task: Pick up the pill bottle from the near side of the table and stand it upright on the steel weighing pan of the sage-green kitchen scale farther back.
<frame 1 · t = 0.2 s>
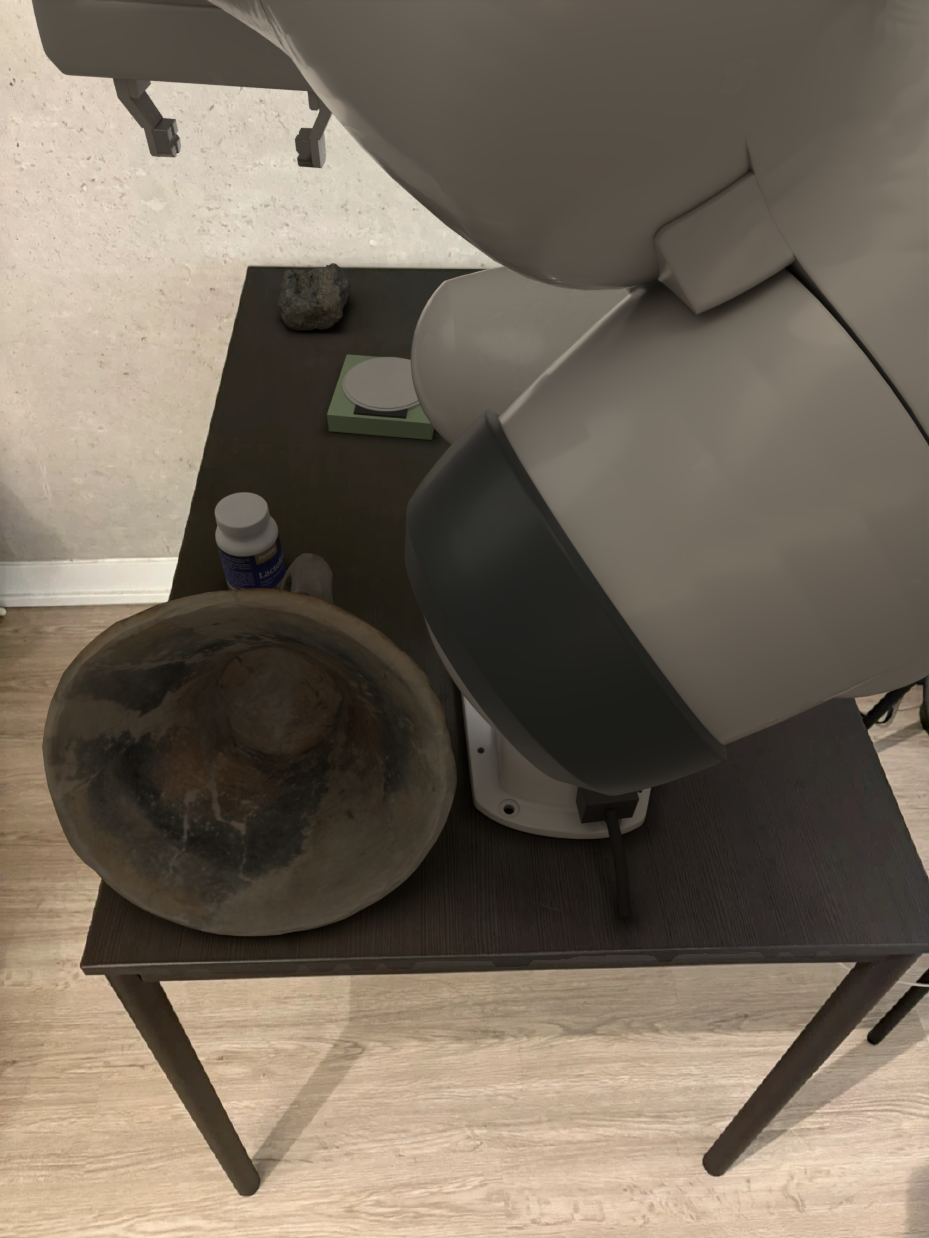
hand: (239, 159, 54), 39 cm above the table, tool pointing down, fingers open, 8 cm apart
rock: (320, 313, 115), on the table
bowl: (278, 687, 70), point 5 cm above the table
pill bottle: (259, 585, 84), on the table
scale: (388, 404, 102), on the table
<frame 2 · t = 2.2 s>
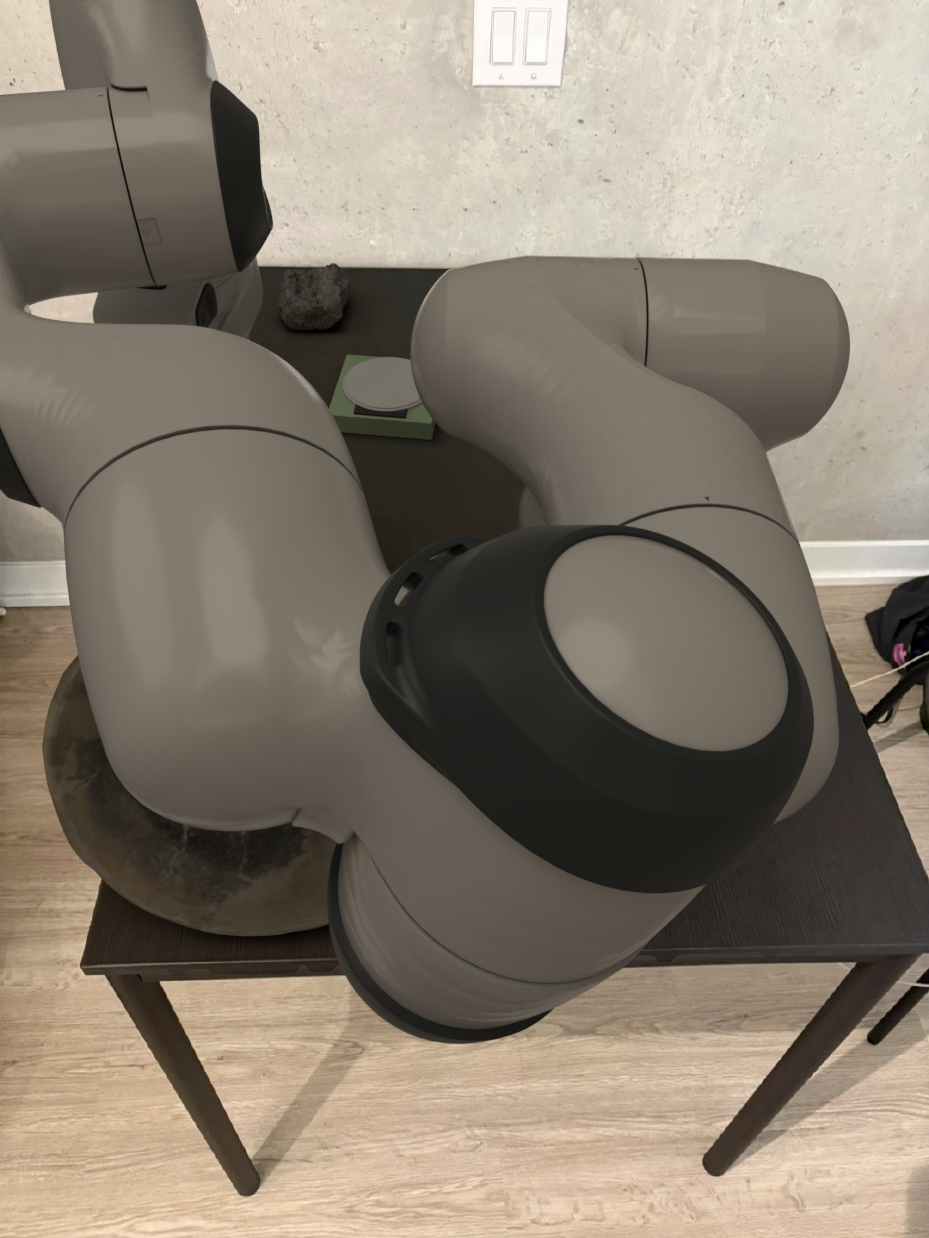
hand: (222, 420, 69), 20 cm above the table, tool pointing down, fingers open, 8 cm apart
nothing on the table moved.
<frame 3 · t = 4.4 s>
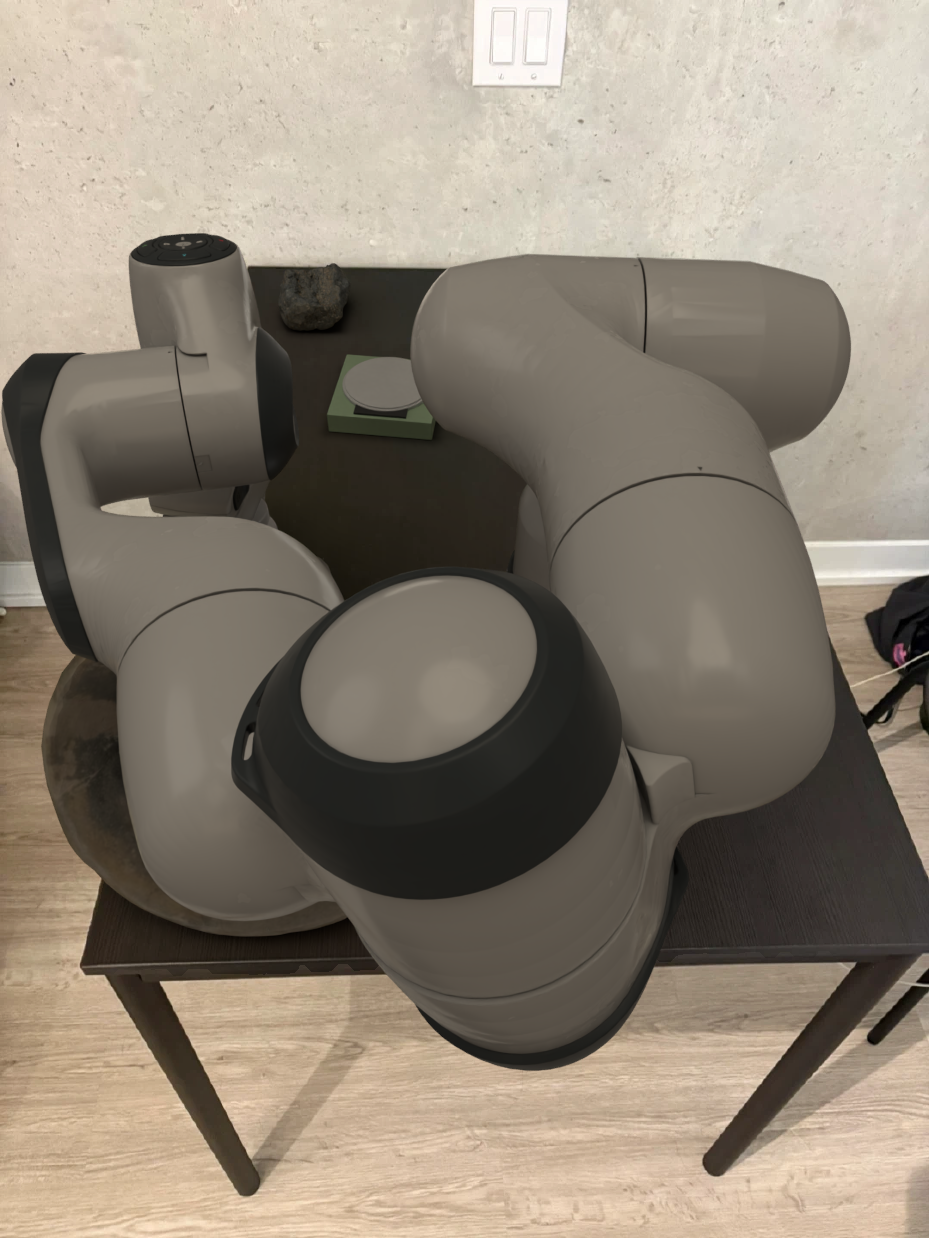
hand: (244, 552, 80), 4 cm above the table, tool pointing down, fingers closed on pill bottle, 6 cm apart
bowl: (279, 687, 70), point 5 cm above the table, touching arm
pill bottle: (258, 585, 84), on the table, touching gripper
everything else where it was.
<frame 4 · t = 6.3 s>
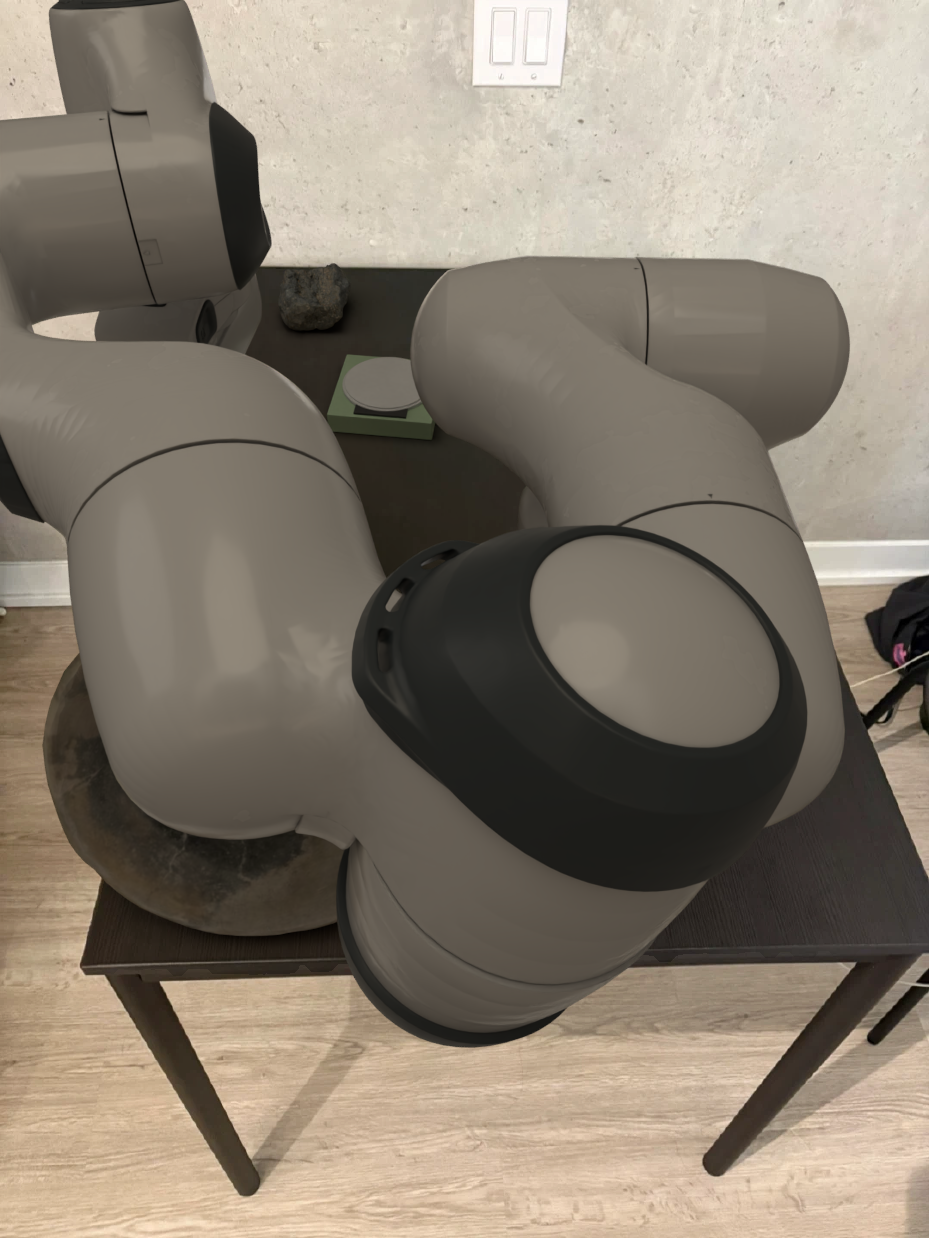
hand: (222, 432, 69), 18 cm above the table, tool pointing down, fingers closed on pill bottle, 6 cm apart
bowl: (279, 687, 70), point 5 cm above the table
pill bottle: (241, 475, 73), point 14 cm above the table, touching gripper
everything else where it was.
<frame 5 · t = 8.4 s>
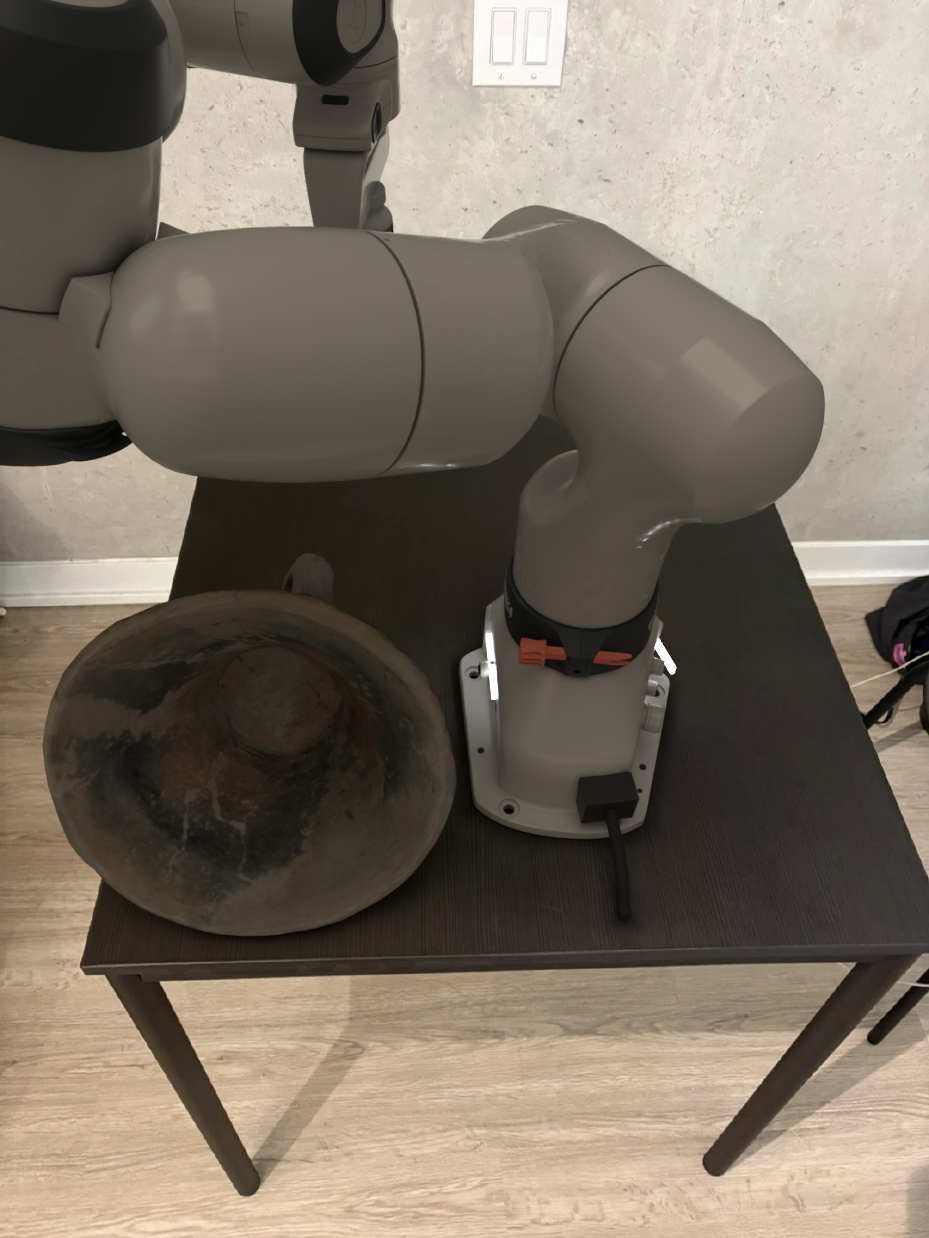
hand: (360, 245, 84), 21 cm above the table, tool pointing down, fingers closed on pill bottle, 6 cm apart
pill bottle: (370, 288, 88), point 16 cm above the table, touching gripper
everything else where it was.
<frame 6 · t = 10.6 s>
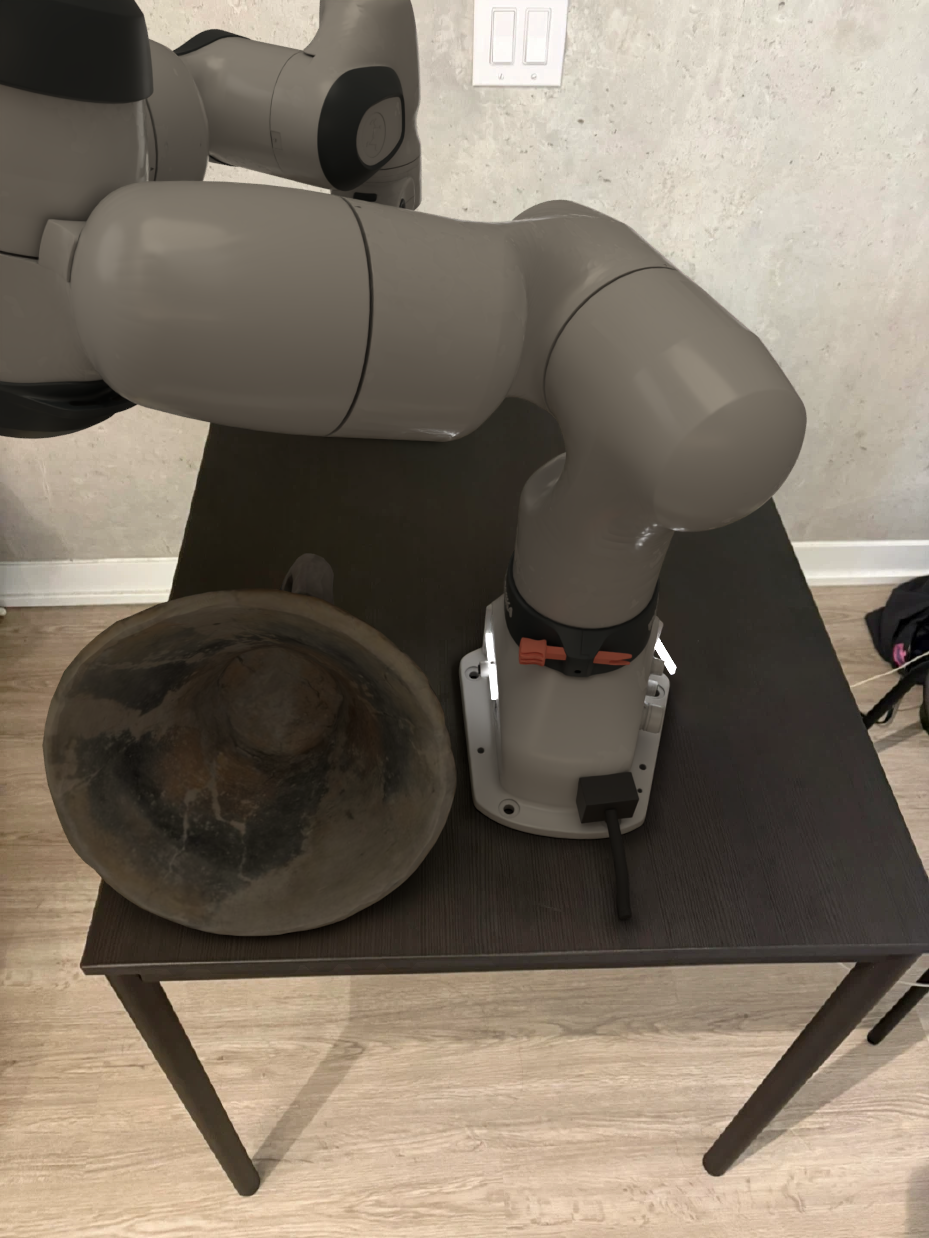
hand: (383, 312, 93), 12 cm above the table, tool pointing down, fingers closed on pill bottle, 6 cm apart
pill bottle: (390, 349, 97), point 7 cm above the table, touching gripper
everything else where it was.
when the fingers open (7 cm above the table, at t = 12.2 s): pill bottle stays where it is, resting on scale.
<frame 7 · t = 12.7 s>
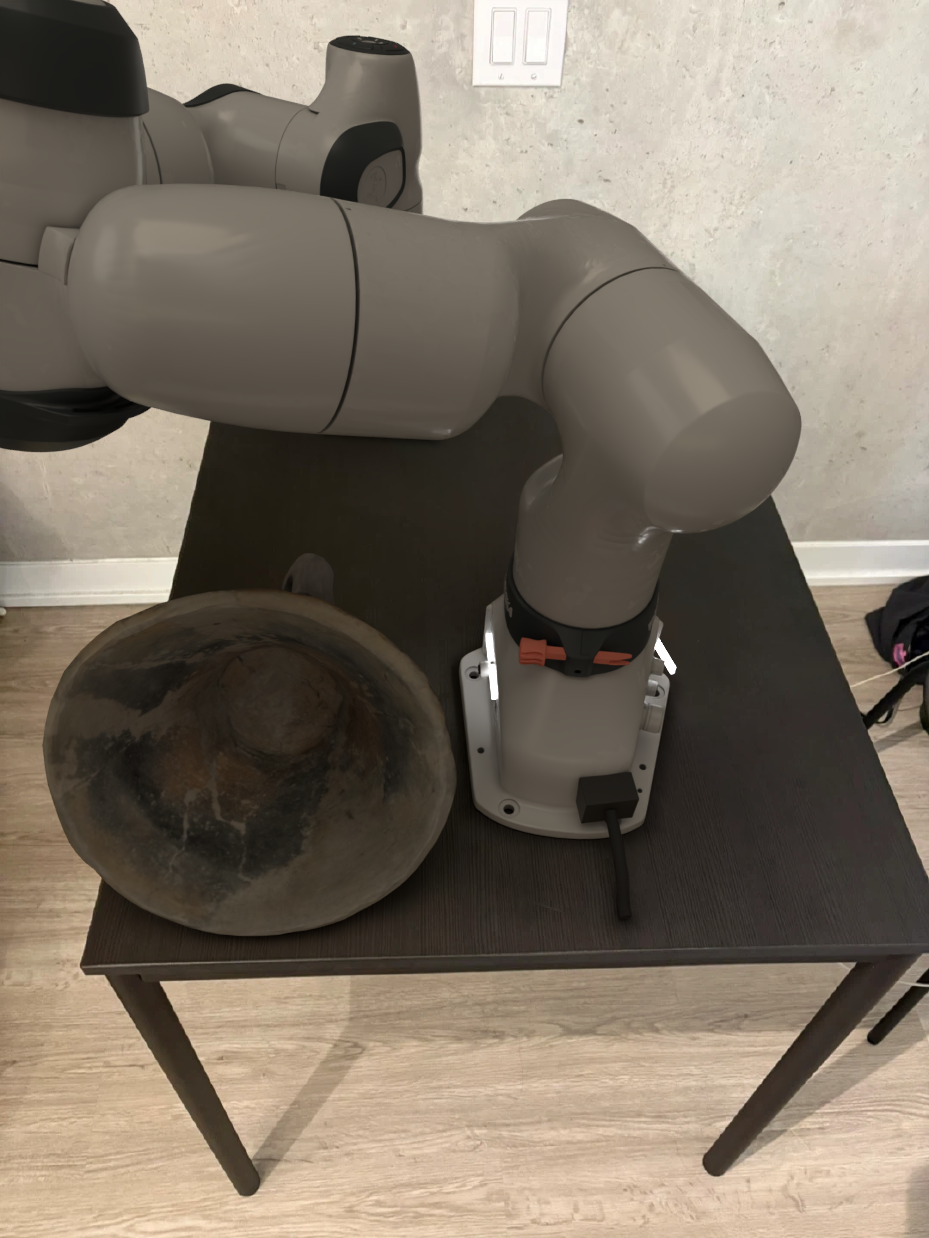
hand: (386, 345, 97), 8 cm above the table, tool pointing down, fingers open, 8 cm apart
pill bottle: (392, 383, 100), point 3 cm above the table, touching scale
everything else where it was.
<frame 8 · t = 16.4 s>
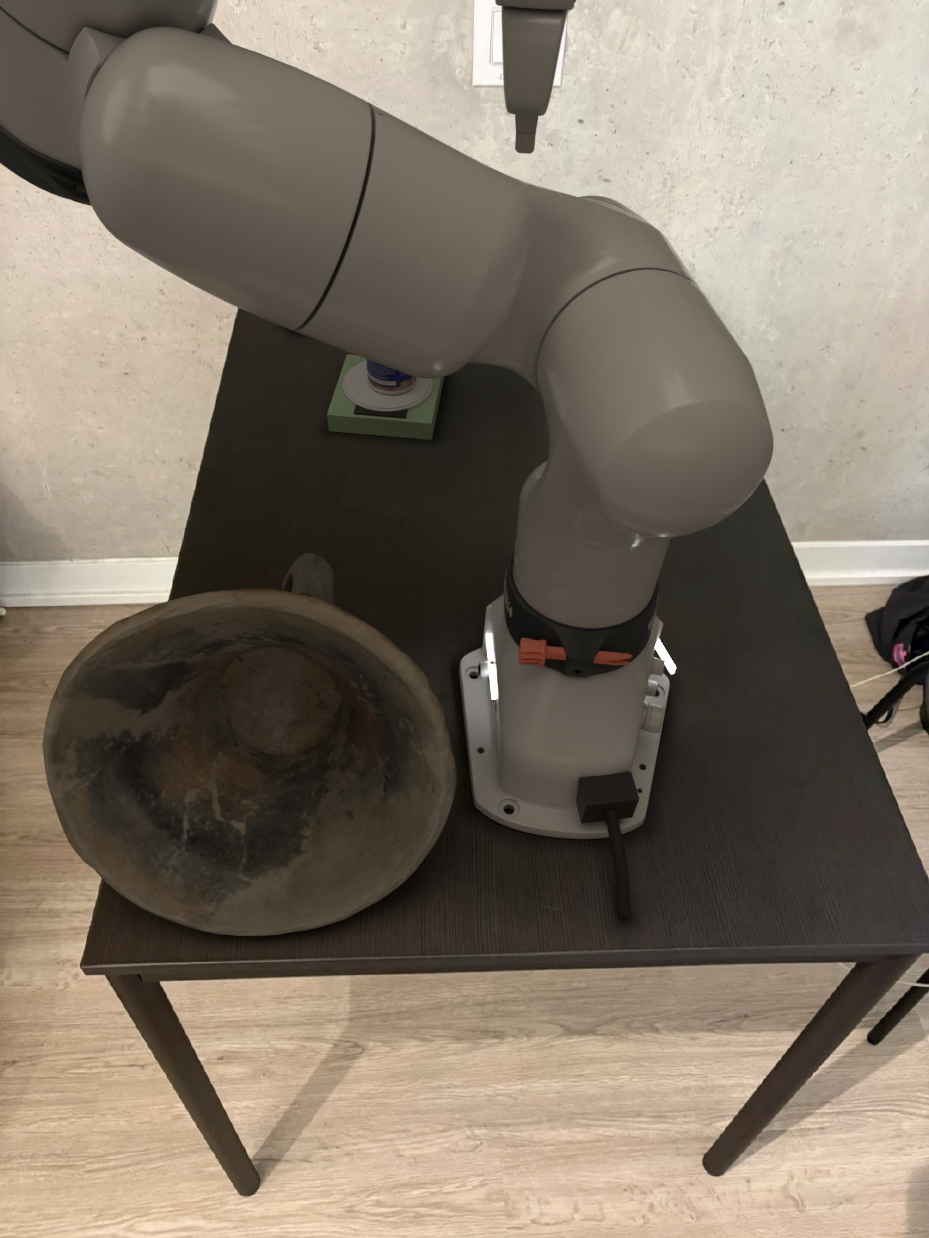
hand: (527, 130, 83), 29 cm above the table, tool pointing down, fingers open, 8 cm apart
nothing on the table moved.
at the end: pill bottle inside the target area on the scale (0.6 cm from its centre), point 2.8 cm above the scale's base; pill bottle tilted 0°; the gripper is holding nothing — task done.
